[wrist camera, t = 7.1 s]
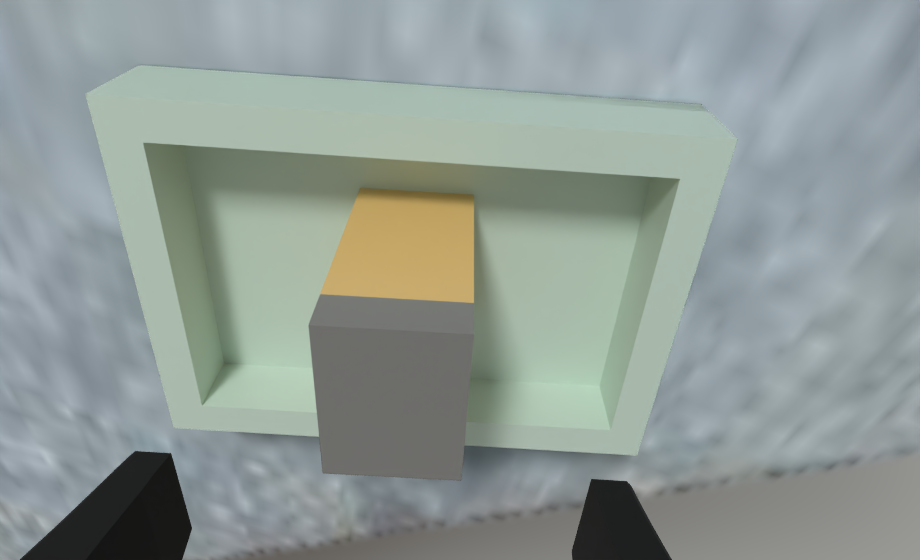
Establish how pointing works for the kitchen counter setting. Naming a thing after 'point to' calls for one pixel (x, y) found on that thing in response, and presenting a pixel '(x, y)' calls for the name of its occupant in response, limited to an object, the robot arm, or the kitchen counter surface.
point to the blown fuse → (397, 337)
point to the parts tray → (411, 169)
